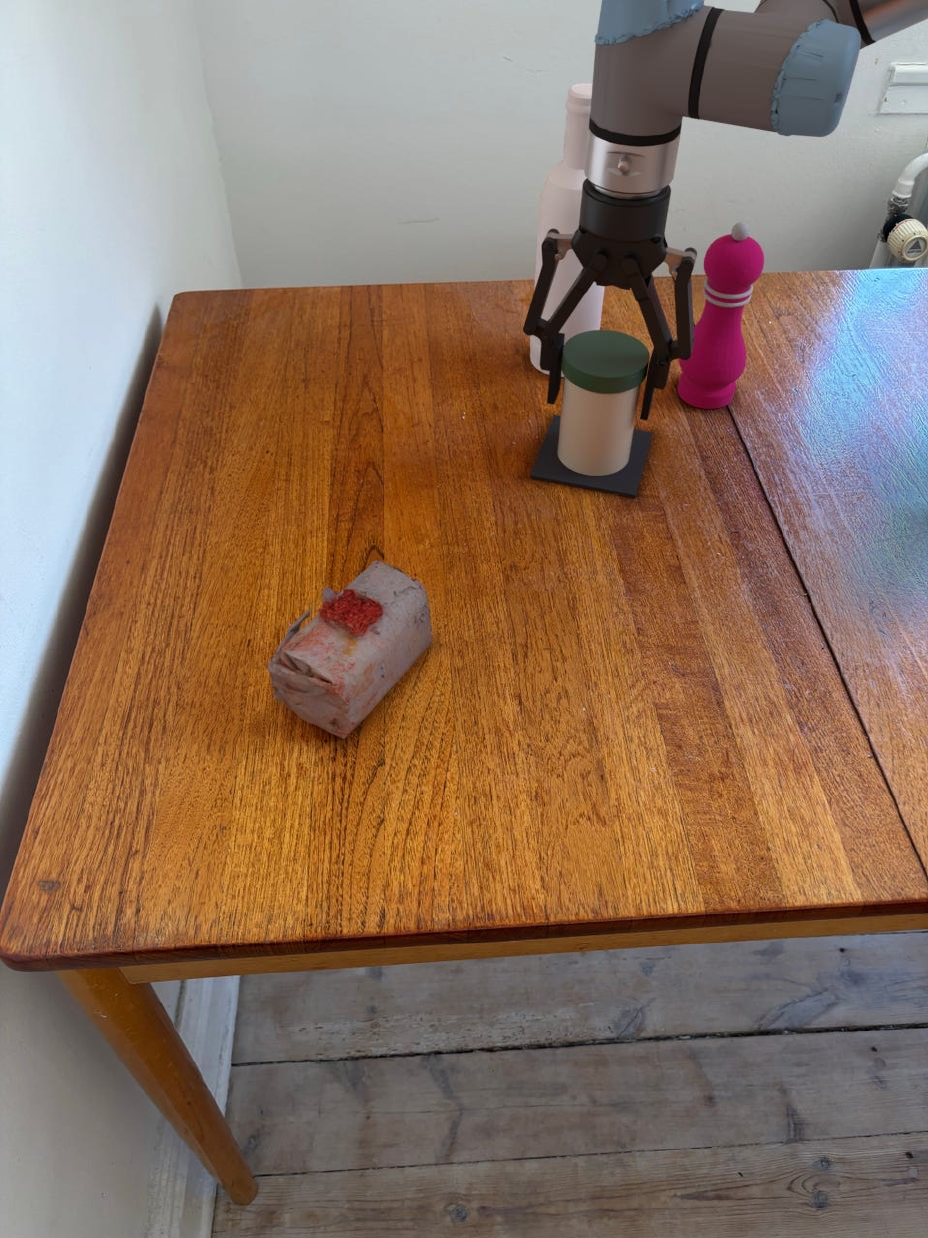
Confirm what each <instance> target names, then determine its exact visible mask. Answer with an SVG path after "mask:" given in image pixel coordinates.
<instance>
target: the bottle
mask: <svg viewBox="0 0 928 1238" xmlns="http://www.w3.org/2000/svg"><path fill="white" fill-rule="evenodd" d="M592 85H593V82H592V83H591V82H590V83H588V82H581V83H576V84H573V85H572V86H570V87H569V89H568V90H567V98H566V101H565V110H566V115H565V128H564V140H563V142H564V143H563V155H562V160H561V161H559V162H558V164H556V165H555V166H554V167H552V168H551V170H550V171H549V172H548V174H547V176H546V178H545V180H544V182H543V184H542V187H541V190H540V193H539V205H538V206H539V207H538V221H537V222H538V223H537V237H536V253H535V255H536V256H535V269H534V270H535V271H534V272H535V273H534V286H533V292H534V291H535V287H536V284H537V281H538V278H539V274H540V271H541V268H542V250H541V245H542V243H543V241H544V238H545V236H546V234H547V232H548V231H549V230H550V229H553V228H554V229H557V230H558V231H559V233H560V234H574V233H575V232H576V230H577V229H578V226H579V218H580V208H581V197H582V187H583V182H584V181H585V179H586V178H587V177H586V176H585V173H584V165H585V155H586V146H587V136H588V127H589V119H590V110H591V98H592ZM582 269H583V266H582V265H581V263H580V261H579V260H578V258H577V256H576V255H575V253H574V251H573V249H569V250H568V251H567V253H566V256H565V257H564V259H562V260H559V263H558V266H557V269H556V272H555V276H554V279H553V282H552V285H551V288H550V291H549V294H548V297H547V301H546V304H545V307H544V310H543V313H542V316H541V318H542V319H544V320H546V321H548V319H550V318H551V316H552V315H553V313H554V312H555V310H556V309H557V307H558V306H559V304H560V303H561V301H562V300H563V298H564V297H565V295H566V294H567V292H568V290H569V289H570V287H571V286H572V284H573V283H574V281H575V280H576V278H577V277H578V275H579V274H580V272H581V270H582ZM605 288H606V286H598V285H596V282H594V283H593V284H592V285H591V287H590V288H589V290H588V291H587V293H586V294H585V295H584V296H583V298H582V299H581V300H580V302H579V303H578V305H577V306H576V308H575V309H574V311H573V312H572V314H571V315H570V317H569V318H568V320H567V321H566V322H565V324H564V325H563V327H562V328H561V330H560V331H559V333H564V334H565V339H564V345H565V343H566V342H567V341H568V340H569V339H570V338H571V337H573V336H575V335H577V334H579V333H582V332H586V331H592V330H601V323H602V322H601V320H602V313H603V304H604V295H605ZM529 348H530V350H529V359H530V363H531V364H532V365H533V367H534V368H535V369H536V370H538V371H540V372H541V373H542V374H544V375H547V376H549V372H550V371H546V370H541V368H540V352H541V341H540V339H539V338H538V337H536V336H534V335H531V336H529ZM561 378H564V374H563V372H561Z"/></svg>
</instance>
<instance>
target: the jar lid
mask: <svg viewBox="0 0 928 1238" xmlns="http://www.w3.org/2000/svg"><path fill="white" fill-rule="evenodd" d="M650 358H651V355H650V352H649V349H648V347H647V346H646V345H645V344H644V343H643V342H642V341H641V340H639V339H638V338H636V337H635V336H632V335H630V334H628V333H625V332H621V331H618V330H610V329H600V330H592V331H586V332H582V333H579V334H577V335H575V336H573V337H571V338H570V339H569V340H568V341H567V342H566V343H565V345H564V347H563V353H562V364H561V368H562V372H563V374H564V376H565V377H566V378H567V379H568V380H569V381H570V382H571V383H573V384H574V385H576V386H578V387H580V388H582V389H585V390H588V391H592V392H598V393H620V392H625V391H628V390H631V389H633V388H635V387H637V386H639V385H640V384H641V385H642V383H644V381H646V379H647V373H648V367H649V362H650Z"/></svg>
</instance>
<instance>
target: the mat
mask: <svg viewBox="0 0 928 1238" xmlns="http://www.w3.org/2000/svg"><path fill="white" fill-rule="evenodd" d="M560 416H561V415H559V414H553V415H552V418H551V420H550V423H549V426H548V428H547V430H546V433H545V437H544V438H543V441H542V444H541V446H540V449H539V451H538V454H537V456H536V459H535V462H534V464H533V466H532V469H531V471H530V474H529V478H530V479H534V480H539V481H545V482H548V483H549V482H550V483H555V484H560V485H564V486H571V487H576V488H581V489H586V490H592V491H597V492H601V493H608V494H611V495H617V496H623V497H628V498H633V499H636V497H637V494H638V491H639V487H640V483H641V480H642V476H643V472H644V469H645V464H646V462H647V461H646V460H647V457H648V453H649V450H650V446H651V442H652V439H653V435H654V432H653V431H648V430H642V429H636V428H634V432H633V438H632V445H631V451H630V457H629V461H628V463H627V464H626V466H625V467H624V468H622V469H621V470H620V471H618V472H616V473H613V474H610V475H604V476H589V475H584V474H580V473H577V472H575V471H572V470H571V469H569V468H567V467H566V466H565V465H564V464H563V463H562V462H561V461H560V459H559V457H558V453H557V448H558V438H559V427H560Z"/></svg>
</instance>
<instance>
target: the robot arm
mask: <svg viewBox="0 0 928 1238" xmlns="http://www.w3.org/2000/svg"><path fill="white" fill-rule="evenodd" d="M926 20H928V0H760V1H759V4H758V5H757V7H756V8H755V10H754V12H749V11H739V10H730V9H725V8H718V7H715V6H712V5H705V0H601V5H600V12H599V19H598V25H597V32H596V34H595V35H594V44H595V47H594V49H595V50H594V61H593V62H594V63H593V72H592V73H593V74H592V84H593V85H592V98H591V110H590V119H589V127H588V136H587V146H586V155H585V165H584V173H585V176H586V177H587V178H586V179H585V181H584V182H583V187H582V197H581V208H580V218H579V226H578V229H577V230H576V232H575V233H574V234H560V233H559V231H558V230H557V229H554V228H553V229H550V230H549V231H548V232H547V234H546V236H545V238H544V241H543V243H542V245H541V250H542V268H541V271H540V274H539V278H538V281H537V284H536V287H535V291H534V290H533V293H532V294H533V295H532V297H531V300H530V304H529V307H528V311H527V313H526V317H525V320H524V323H523V327H522V332H523V333H524V335H525V336H529V337H530V336H531V335H534V336H536V337H538V338H539V339H540V341H541V352H540V368H541V370H546V371H550V372H549V375H548V385H547V396H546V399H547V400H546V404H549V405H552V406H553V405H555V404H556V401H557V399H558V396H559V393H560V392H561V391H560V390H561V382H562V377H561V372H562V368H561V364H562V353H563V347H564V339H565V334H564V333H559V331H560V330H561V328H562V327H563V325H564V324H565V322H566V321H567V320H568V318H569V317H570V315H571V314H572V312H573V311H574V309H575V308H576V306H577V305H578V303H579V302H580V300H581V299H582V298H583V296H584V295H585V294H586V293H587V291H588V290H589V288H590V287H591V285H592V284H593V283H594V282H596V285H598V286H605V287H615V288H618V289H621V290H626V291H630V290H631V293H632V295H633V297H634V300H635V302H637V304H638V307H639V309H640V312H641V315H642V317H643V320H644V321H643V322H644V323H645V327H646V329H647V332H648V335H649V337H650V340H651V343H652V345H653V349H652V352H651V355H650V358H649V365H648V371H647V376H646V378H645V385H644V391H643V392H644V393H643V399H642V403H641V404H642V405H641V409H640V417H639V420H641V421H648V420H649V417H650V412H651V409H652V407H653V406H652V405H653V399H654V394H655V389H656V390H662V391H664V389H665V388H666V386H667V384H668V380H669V376H670V370H671V364H672V362H673V361H674V360H678V359H679V358H680V359H682V360H688V359H689V358H690V357H691V353H692V350H693V345H694V327H695V326H694V310H693V309H694V305H693V304H694V302H693V284H692V283H693V282H692V273H693V271H694V268H695V264H696V260H697V258H698V257H697V256H698V251H697V250H696V248H694V247H691V246H689V247H687V248H685V249H684V250H681V249H678V248H674V247H671V246H669V245H668V242H667V240H666V226H667V220H668V213H669V207H670V201H671V194H672V188H671V185H670V184H671V183H672V181H673V180H674V176H675V170H676V164H677V159H678V151H679V146H680V141H681V134H682V125H683V118H689V119H693V120H699V121H707V122H712V123H719V124H724V125H731V126H736V127H741V128H742V127H743V128H748V129H753V130H754V129H755V130H759V131H764V132H770V133H775V134H778V135H779V136H783V137H790V136H797V137H798V136H799V137H800V136H801V137H813V138H824V137H827V136H829V135H831V134H832V133H834V131H835V130H836V129H837V127H838V126H839V124H840V121H841V118H842V115H843V111H844V108H845V105H846V102H847V99H848V95H849V91H850V89H851V84H852V81H853V77H854V73H855V70H856V66H857V63H858V59H859V55H860V50H862V49H864V48H866V47H868V46H871V45H873V44H876V43H877V42H878V41H880V40H884V39H885V38H888V37H891V36H892V35H894V34H896V33H899V32H902V31H903V30H906V29H908V28H911V27H913V26H915V25H917V24H919V23H922V22H924V21H926ZM569 249H573V251H574V253H575V255H576V256H577V258H578V260H579V261H580V263H581V265H582V266H583V269H582V270H581V272H580V274H579V275H578V277H577V278H576V280H575V281H574V283H573V284H572V286H571V287H570V289H569V290H568V292H567V294H566V295H565V297H564V298H563V300H562V301H561V303H560V304H559V306H558V307H557V309H556V310H555V312H554V313H553V315H552V316H551V318H550V319H548V321H546V320H544V319H542V318H541V316H542V313H543V310H544V307H545V304H546V301H547V297H548V294H549V291H550V288H551V285H552V282H553V279H554V276H555V272H556V269H557V266H558V263H559V260H562V259H564V257H565V256H566V253H567V251H568V250H569ZM663 263H665V264H666V265H668V273H669V275H670V276H671V277H672V278H675V280H674V284H673V285H674V287H673V293H674V310H675V312H674V313H675V323H676V324H675V325H676V339H673V336H672V333H671V330H670V327H669V323H668V320H667V318H666V316H665V312H664V310H663V307H662V304H661V300H660V297H659V295H658V292H657V289H656V285H655V279H654V275H653V273H654V271H655V270H657V269H658V268H659V267H660V266H661V265H662V264H663Z"/></svg>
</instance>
